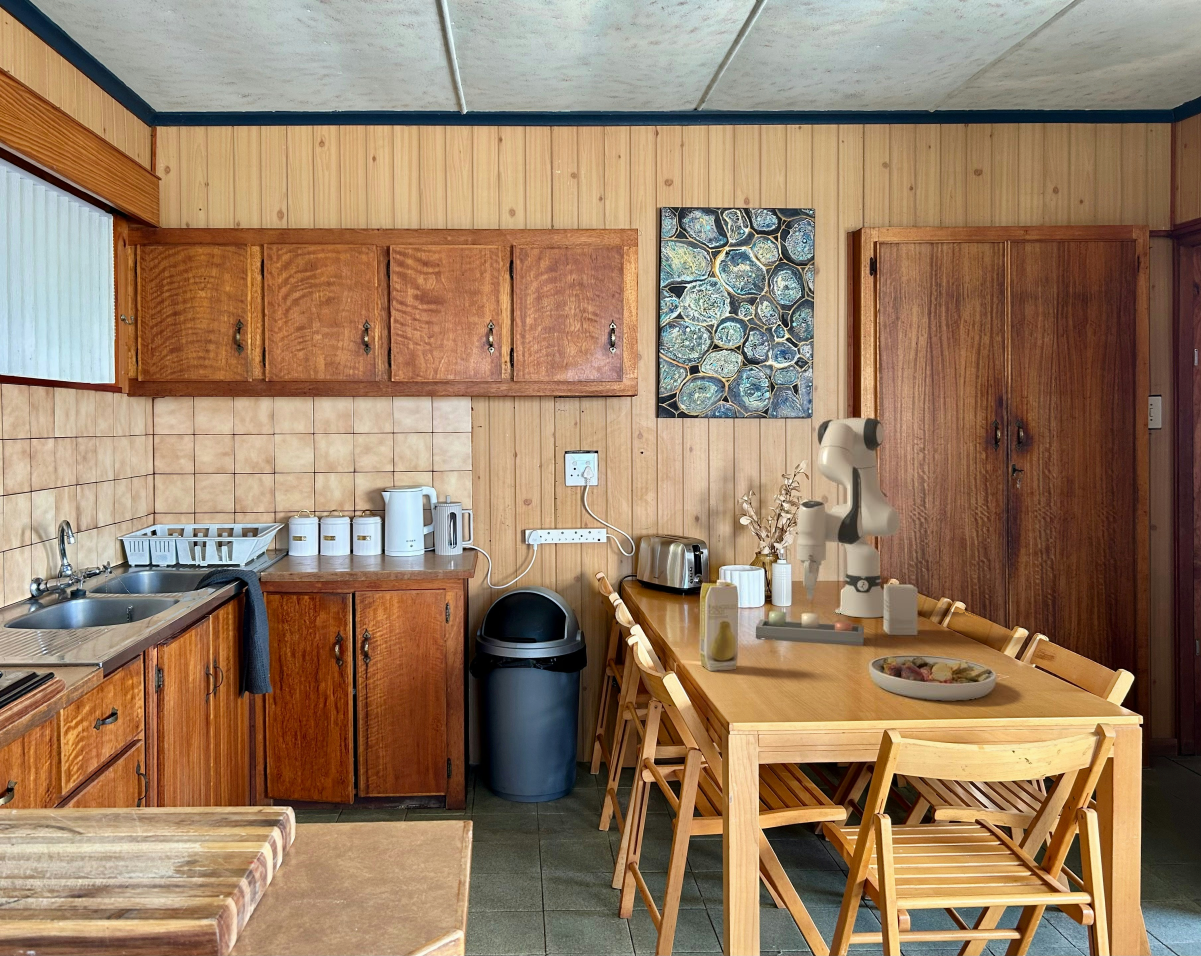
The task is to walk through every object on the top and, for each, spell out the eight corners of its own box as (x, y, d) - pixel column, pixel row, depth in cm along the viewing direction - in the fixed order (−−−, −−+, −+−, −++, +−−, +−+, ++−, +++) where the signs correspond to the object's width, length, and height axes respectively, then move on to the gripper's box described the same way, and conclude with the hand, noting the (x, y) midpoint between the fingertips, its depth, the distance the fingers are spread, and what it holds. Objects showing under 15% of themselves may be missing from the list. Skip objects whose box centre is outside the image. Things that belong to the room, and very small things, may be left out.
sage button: (770, 623, 297) (770, 610, 297) (786, 624, 296) (786, 611, 295) (768, 626, 292) (768, 613, 292) (785, 627, 291) (785, 614, 290)
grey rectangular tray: (760, 631, 301) (760, 619, 301) (863, 637, 292) (863, 625, 292) (755, 638, 290) (755, 626, 290) (863, 645, 281) (863, 633, 281)
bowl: (895, 667, 256) (896, 638, 256) (1011, 686, 237) (1012, 655, 237) (848, 689, 233) (849, 658, 232) (972, 712, 214) (973, 678, 213)
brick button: (834, 632, 291) (835, 620, 291) (852, 634, 290) (852, 621, 290) (834, 636, 286) (834, 623, 286) (851, 637, 285) (852, 624, 285)
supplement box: (911, 629, 305) (912, 584, 304) (917, 635, 296) (918, 588, 295) (882, 629, 306) (883, 583, 305) (888, 634, 297) (889, 587, 296)
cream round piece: (802, 625, 294) (802, 612, 294) (819, 626, 293) (819, 613, 293) (800, 628, 289) (801, 615, 289) (818, 629, 288) (818, 616, 288)
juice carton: (707, 672, 248) (708, 582, 247) (696, 665, 256) (697, 577, 254) (740, 670, 250) (741, 581, 249) (728, 663, 258) (729, 576, 257)
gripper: (820, 558, 279) (819, 604, 279) (822, 550, 298) (821, 593, 299) (798, 557, 280) (798, 603, 281) (802, 549, 300) (801, 592, 301)
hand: (810, 598), depth 290 cm, fingers closed
